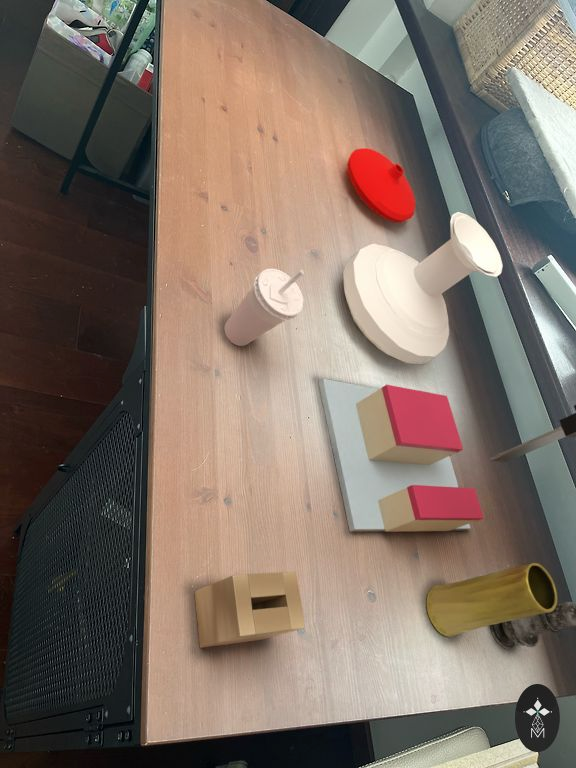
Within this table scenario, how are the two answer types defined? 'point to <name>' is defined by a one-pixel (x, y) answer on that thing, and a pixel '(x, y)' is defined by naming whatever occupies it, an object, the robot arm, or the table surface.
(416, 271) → the candle holder
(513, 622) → the salt shaker
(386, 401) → the cake
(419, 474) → the cake plate
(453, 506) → the cake slice
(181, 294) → the table surface
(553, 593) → the vase
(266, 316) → the smoothie
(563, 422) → the knife
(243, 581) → the knife block
